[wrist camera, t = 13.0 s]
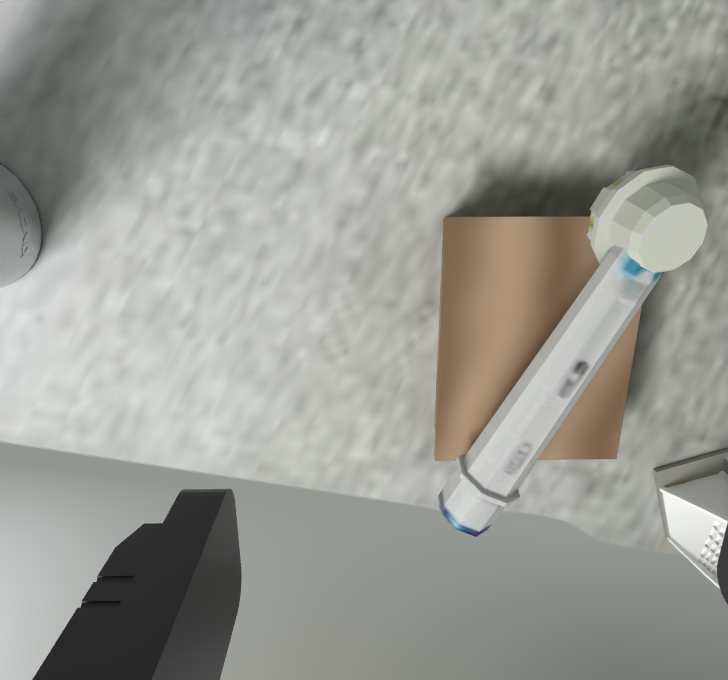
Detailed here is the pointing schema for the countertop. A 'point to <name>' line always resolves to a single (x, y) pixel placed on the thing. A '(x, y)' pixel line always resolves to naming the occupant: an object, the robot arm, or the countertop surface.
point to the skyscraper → (696, 507)
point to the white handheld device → (580, 335)
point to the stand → (518, 330)
